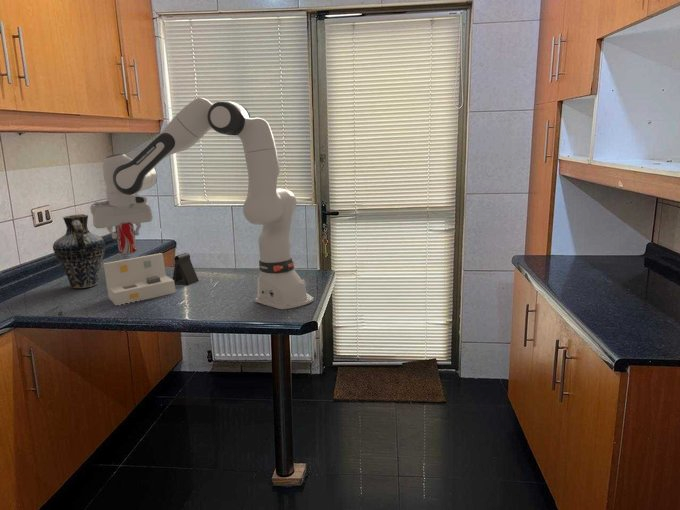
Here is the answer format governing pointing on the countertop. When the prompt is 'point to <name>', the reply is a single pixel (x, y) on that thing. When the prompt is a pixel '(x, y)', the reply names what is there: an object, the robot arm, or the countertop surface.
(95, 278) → the dark grey patterned vase
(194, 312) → the countertop surface
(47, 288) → the countertop surface
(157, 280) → the breaker
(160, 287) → the white stepped stand
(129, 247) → the beverage can
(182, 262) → the dark grey wedge
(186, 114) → the robot arm
